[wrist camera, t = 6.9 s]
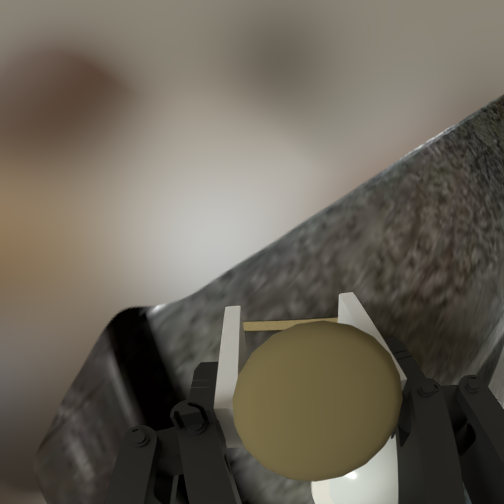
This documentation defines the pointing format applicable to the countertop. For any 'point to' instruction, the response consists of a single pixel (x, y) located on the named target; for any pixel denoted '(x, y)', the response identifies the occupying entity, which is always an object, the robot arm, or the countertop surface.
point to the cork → (317, 400)
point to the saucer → (363, 482)
